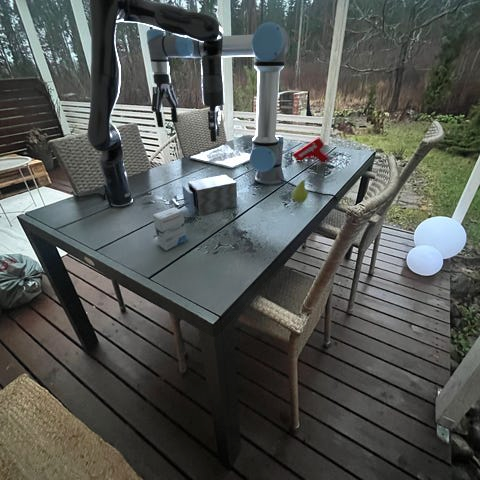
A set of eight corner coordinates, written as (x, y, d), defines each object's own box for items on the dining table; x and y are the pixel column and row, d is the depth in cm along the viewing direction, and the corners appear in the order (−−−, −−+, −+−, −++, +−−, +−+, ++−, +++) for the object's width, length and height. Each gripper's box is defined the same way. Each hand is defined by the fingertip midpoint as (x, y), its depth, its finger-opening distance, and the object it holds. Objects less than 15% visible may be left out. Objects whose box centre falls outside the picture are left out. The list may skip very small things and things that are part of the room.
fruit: (288, 200, 123) (290, 174, 116) (302, 197, 125) (305, 172, 119) (296, 206, 118) (299, 179, 111) (310, 203, 120) (314, 177, 114)
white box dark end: (199, 215, 111) (197, 190, 105) (190, 205, 119) (187, 181, 113) (236, 206, 118) (236, 182, 112) (225, 197, 126) (224, 174, 120)
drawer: (178, 218, 108) (175, 196, 103) (171, 208, 115) (168, 188, 110) (227, 206, 116) (227, 185, 111) (218, 198, 124) (217, 178, 118)
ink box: (179, 235, 98) (174, 206, 91) (187, 241, 95) (183, 210, 88) (158, 245, 93) (151, 214, 86) (165, 250, 90) (159, 219, 83)
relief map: (232, 168, 162) (231, 159, 159) (190, 158, 179) (189, 150, 177) (257, 157, 180) (257, 149, 177) (217, 149, 198) (217, 142, 195)
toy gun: (331, 157, 168) (319, 136, 164) (331, 159, 164) (318, 137, 160) (306, 172, 178) (294, 153, 174) (305, 174, 174) (292, 154, 170)
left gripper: (205, 88, 100) (208, 134, 109) (198, 91, 88) (202, 143, 97) (225, 88, 100) (226, 134, 109) (221, 91, 88) (223, 143, 97)
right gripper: (168, 72, 132) (174, 120, 143) (136, 74, 112) (146, 129, 123) (182, 72, 130) (187, 120, 141) (152, 74, 110) (161, 129, 121)
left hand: (215, 138), depth 103 cm, fingers open, 8 cm apart
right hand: (168, 124), depth 132 cm, fingers open, 13 cm apart
